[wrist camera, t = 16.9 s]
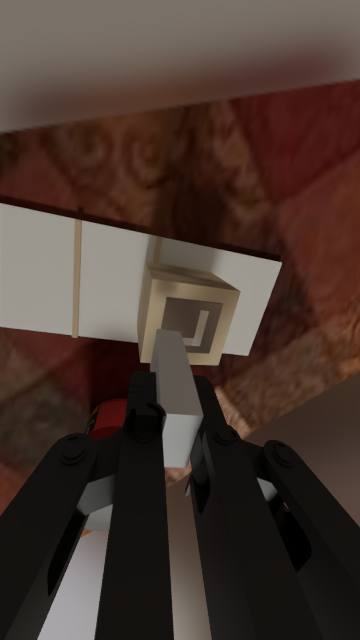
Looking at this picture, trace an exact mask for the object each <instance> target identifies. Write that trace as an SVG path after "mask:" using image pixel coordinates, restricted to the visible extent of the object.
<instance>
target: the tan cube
mask: <svg viewBox="0 0 360 640" xmlns="http://www.w3.org/2000/svg"><path fill="white" fill-rule="evenodd" d="M240 293H241V291H239V290H238V289H236V288H235V287H233V286H232V285H230V284H228V283H227V282H225V281H224V280H222V279H221V278H219V277H218V276H216V275H214V274H213V273H211V272H207V271H201V270H195V269H188V268H182V267H176V266H170V265H164V264H158V263H152V262H145V266H144V273H143V281H142V288H141V296H140V304H139V311H138V319H137V335H138V345H139V355H140V363H151V358H152V352H153V347H154V341H155V336H156V330H157V329H163V330H170V331H178V332H181V335H182V338H183V342H184V346H185V349H186V353H187V357H188V360H189V364H195V365H218V364H219V361H220V358H221V354H222V351H223V348H224V345H225V341H226V338H227V335H228V332H229V328H230V325H231V322H232V319H233V315H234V312H235V309H236V306H237V302H238V299H239V296H240Z"/></svg>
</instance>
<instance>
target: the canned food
mask: <svg viewBox="0 0 360 640" xmlns="http://www.w3.org/2000/svg"><path fill="white" fill-rule="evenodd" d="M126 404H127V399H126V398H114V399H109V400H106V401H104V402H102V403H100V404H99V405H98V406H97V407H96V408H95V409H94V410H93V412H92V413H91V415H90V417H89V420H88V423H87V426H86V429H85V432H84V433H85V434H87V435H89V436H91V437H93V439H94V440H97V439H101V438H105V437H107V436H110V435H112V434H114V433H115V432H117V431H118V430H119V429H120V428H121V426H122V425H123V423H124V418H125V411H126ZM112 505H113V504H112ZM112 505H110V506H107V507H105V508H102V509H100V510H97V511H95V512H92V513H90V515H89V517H88V520H87V522H86V525H85V527H84V529H88V530H96V531H104V530H109V527H110V520H111V513H112Z"/></svg>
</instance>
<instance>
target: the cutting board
mask: <svg viewBox="0 0 360 640" xmlns="http://www.w3.org/2000/svg"><path fill="white" fill-rule="evenodd" d="M145 262H152V263H158V264H164V265H170V266H176V267H182V268H188V269H195V270H201V271H207V272H211V273H213V274H214V275H216V276H218V277H219V278H221V279H222V280H224V281H225V282H227V283H228V284H230V285H232V286H233V287H235V288H236V289H238V290H239V291H241V293H240V296H239V299H238V302H237V306H236V309H235V312H234V315H233V319H232V322H231V325H230V328H229V332H228V335H227V338H226V341H225V345H224V348H223V351H222V353H228V354H237V355H245V356H248V354H249V351H250V348H251V346H252V343H253V340H254V338H255V335H256V332H257V330H258V327H259V324H260V321H261V319H262V316H263V313H264V311H265V308H266V305H267V303H268V300H269V297H270V295H271V292H272V289H273V286H274V284H275V281H276V278H277V276H278V273H279V270H280V268H281V265H282V263H281V262H278V261H273V260H268V259H263V258H259V257H254V256H249V255H244V254H240V253H235V252H230V251H226V250H221V249H216V248H211V247H207V246H202V245H197V244H192V243H188V242H183V241H178V240H173V239H169V238H164V237H159V236H154V235H150V234H145V233H140V232H136V231H131V230H126V229H121V228H117V227H112V226H107V225H102V224H98V223H93V222H88V221H83V220H79V219H74V218H69V217H64V216H60V215H55V214H50V213H45V212H41V211H36V210H31V209H27V208H22V207H17V206H12V205H8V204H3V203H0V327H8V328H16V329H25V330H33V331H42V332H50V333H59V334H67V335H72V337H73V338H77V337H78V336H84V337H93V338H101V339H110V340H118V341H127V342H135V343H138V335H137V319H138V311H139V304H140V296H141V288H142V281H143V273H144V266H145Z"/></svg>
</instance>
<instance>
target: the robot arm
mask: <svg viewBox="0 0 360 640" xmlns="http://www.w3.org/2000/svg"><path fill="white" fill-rule="evenodd" d="M189 460H190V461H191V467H192V471H191V474H190V477H189V481H188V483H187V486H186V490H185V496H188V495H189V492H190V491H191V497H192V504H193V511H194V518H195V525H196V532H197V539H198V546H199V553H200V560H201V566H202V574H203V581H204V588H205V595H206V602H207V609H208V616H209V622H210V630H211V636H212V640H360V527H359V526H358V525H357V524H356V522H355V521H354V520H353V519H352V518H351V517H350V515H349V514H348V513H347V512H346V511H345V510H344V508H343V507H342V506H341V505H340V504H339V502H338V501H337V500H336V499H335V498H334V497H333V496H332V494H331V493H330V492H329V491H328V489H327V488H326V487H325V486H324V485H323V484H322V482H321V481H320V480H319V479H318V478H317V477H316V475H315V474H314V473H313V472H312V471H311V469H310V468H309V467H308V466H307V465H306V464H305V462H304V461H303V460H302V459H301V458H300V457H299V455H298V454H297V453H296V452H295V451H294V450H293V449H292V448H291V447H289V446H288V445H286V444H284V443H283V442H280V441H277V440H269V441H267V442H266V443H265V445H264V447H260V446H257V445H254V444H252V443H249V442H246V441H244V440H242V439H241V438H240V436H239V435H238V433H237V431H236V430H234V429H233V428H232V427H231V426H229V425H227V423H226V420H225V417H224V415H223V412H222V409H221V407H220V404H219V401H218V399H217V396H216V393H215V391H214V388H213V385H212V383H211V382H210V381H209V380H208V379H207V378H206V376H197V375H192V372H191V368H190V364H189V360H188V357H187V353H186V349H185V346H184V342H183V338H182V335H181V332H178V331H170V330H163V329H157V330H156V336H155V341H154V347H153V352H152V358H151V364H150V372H147V371H137V370H136V371H135V372H134V373H133V374H132V375H131V377H130V383H129V390H128V397H127V404H126V411H125V418H124V423H123V425H122V426H121V428H120V429H119V430H118V431H117V432H115V433H114V434H112V435H110V436H107V437H105V438H101V439H97V440H94V439H93V437H91V436H89V435H87V434H85V433H74V434H70V435H67V436H65V437H63V438H61V439H59V440H58V441H57V442H56V443H55V444H54V445H53V446H52V447H51V448H50V450H49V451H48V452H47V454H46V455H45V456H44V458H43V459H42V460H41V462H40V463H39V465H38V466H37V467H36V469H35V470H34V471H33V473H32V474H31V475H30V477H29V478H28V479H27V481H26V482H25V484H24V485H23V486H22V488H21V489H20V490H19V492H18V493H17V494H16V496H15V497H14V498H13V500H12V501H11V503H10V504H9V505H8V507H7V508H6V509H5V511H4V512H3V513H2V515H1V516H0V640H37V639H38V636H39V634H40V632H41V629H42V627H43V624H44V622H45V620H46V617H47V615H48V613H49V610H50V608H51V605H52V603H53V601H54V598H55V596H56V593H57V591H58V589H59V586H60V584H61V581H62V579H63V577H64V574H65V572H66V570H67V567H68V565H69V563H70V560H71V558H72V555H73V553H74V550H75V548H76V546H77V543H78V541H79V539H80V536H81V534H82V532H83V529H84V527H85V525H86V522H87V520H88V517H89V515H90V513H92V512H95V511H97V510H100V509H102V508H105V507H107V506H110V505H112V504H113V505H112V513H111V520H110V527H109V535H108V542H107V549H106V557H105V564H104V573H103V579H102V587H101V594H100V601H99V609H98V616H97V623H96V631H95V638H94V640H174V633H173V632H174V631H173V614H172V598H171V597H172V595H171V578H170V560H169V544H168V543H169V542H168V524H167V507H166V488H165V470H164V467H187V466H188V463H189ZM284 502H285V504H286V505H287V507H288V508H289V509H288V508H287V507H286V506H285V505H284Z"/></svg>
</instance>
